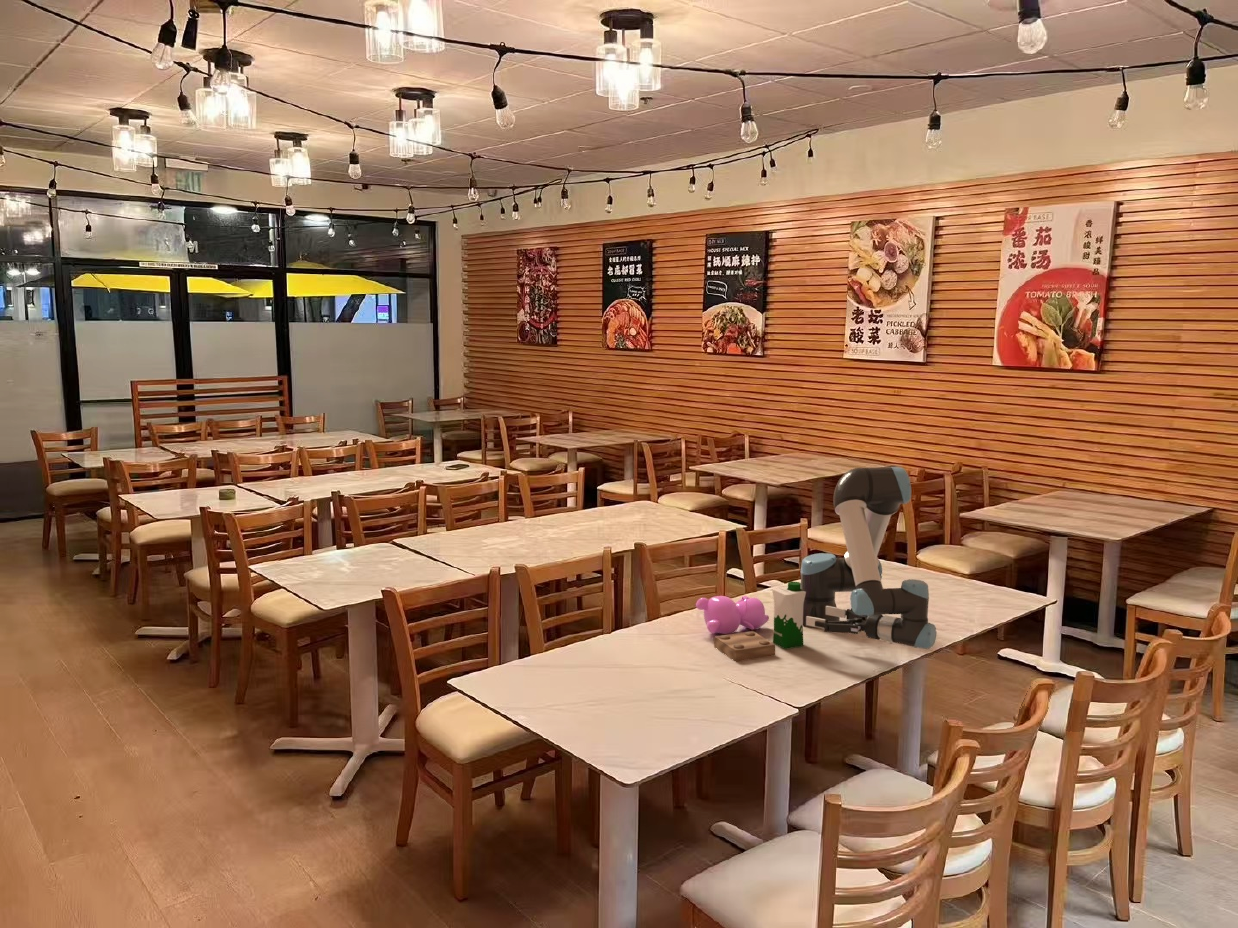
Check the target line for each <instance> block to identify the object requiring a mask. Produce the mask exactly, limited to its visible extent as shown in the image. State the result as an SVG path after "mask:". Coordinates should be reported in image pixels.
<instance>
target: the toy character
mask: <svg viewBox="0 0 1238 928" xmlns="http://www.w3.org/2000/svg"><path fill="white" fill-rule="evenodd" d="M695 607H696V609H697V610H699V611H703V619H704V622H705V625H706V629H707V631H708V632H709V633H711V634H712V635H715V633H716V634H721V635H728V634H734V633H735V632H736V631H737V630H738V629H739V627H740V626H742V627H744V628H746V629H750V630H751V631H754V630H758V629H760V628H761V627H762V626H764V625H765V624H766V623H768V621H769V620H770V616H769V615H768V614H766V609H765V606H764V603H763V602H762V600H760V599H759V598H758V597H749V596H747V595H744V596H741V598H740V599H739V600H738V601H736V602H735V600H734V599H732V598H731V597H728V596H725V595H716V596H712V597H710V598H709V599H708V598H706V597H701V598H699V599H697V601H696V603H695Z"/></svg>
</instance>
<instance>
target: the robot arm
mask: <svg viewBox="0 0 1238 928" xmlns="http://www.w3.org/2000/svg"><path fill="white" fill-rule="evenodd" d="M910 479H911V478H910V476H909V474H908V472H907V471H906V469H905V468H903V467H901V466H884V467H883V466H881V467H879V466H878V467H875V466H873V467H855V468H852V469H849V470H847V472H845V473H844V474H843V475H842V476H841V477H840V478H839V480H838V481H837V484H836V485H835V488H834V491H833V492H834V493H833V501H832V502H833V509H834V512H835V513H836V515H838V516H839V518H840V525H841V528H842V533H843V536H844V540H845V546H846V549H847V551H846V552H845V554H844V557H837V556H836V555H835V554H832V553H828V552H827V553H824V552H821V553H820V552H819V553H814V554H810V555H809V554H808V555H807V556H806V557H804V558H803V559H802V560H801V565H800V566H801V568H800V583H801V589H802V590H803V591H805V592H806V594H805V599H804V603H803V627H808V628H815V629H823V632H824V633H840V634H841V633H842V634H854V635H859V633H860V632H864V633H865V635H866V637H867V638H868V639H873V640H877V641H878V640H880V641H883V642H888V643H889V644H891V645H892V644H894V643H895V644H900V645H903V646H908V647H911V648H916V649H917V648H918V649H923V650H924V649H925V650H930V649H931V648H933V647H934V645H935V643H936V640H937V634H938V633H937V627H936V625H935V624H933V623H931V622H929V618H928V613H929V600H930V597H929V595H930V591H929V585H928V583H927V582H925V581H924V580H920V579H912V578H911V579H905V580H903V581H901V586H900V587H894V588H893V587H890V588H889V587H888V588H884V587H883V582H882V579H883V578H882V577H883V576H882V574H883V566H882V563H881V561H880V559H879V557H878V555H879V552H880V548H881V547H882V542H883V539H884V537H885V534H886V530H887V528H888V525H889V523H890V520H891V517H892V515H894V514H895V513H898V511H899V508H900V505H905V504H908V503H910V501H911V498H912V486H911V480H910ZM840 592H841V593H844V592H845V593H847V592H848V593H850V598H849V600H850V608H847V609H846V608H841V607H837V604H836V593H840ZM891 615H900V617H897V616H891ZM841 618H842V619H846V620H840V619H841Z"/></svg>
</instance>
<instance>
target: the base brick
mask: <svg viewBox="0 0 1238 928" xmlns="http://www.w3.org/2000/svg"><path fill="white" fill-rule="evenodd" d="M713 639H714V640H713V641H714V642H713V643H714V645H713V647H714V648H715V649H716V648H717V649H718V651H719V652H720V653H721V654H723V653H724V654H723V655H725V654H726V655H727V656H726V655H725V656H726V657H728V658H729V659H731V660H732V659H733V660H732V661H734V662H735V661H736V662H742V660H743V661H749V660H754V659H761V658H768V657H774V655H775V656H776V644H774V643H773V641H770V640H768V639H767V638H765V637H763V636H762V635H760V634H758V632H755V631H754V630H751V631H744V632H743V631H742V632H737V633H731V634H721V635H716V636H714V638H713ZM717 649H716V650H717ZM748 659H749V660H748Z"/></svg>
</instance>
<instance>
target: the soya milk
mask: <svg viewBox="0 0 1238 928" xmlns="http://www.w3.org/2000/svg"><path fill="white" fill-rule="evenodd" d="M805 594H806V592H805V591H803V590H802V589H801V582H798V581H789V582H787V586H783V587H778V588H772V596H773V597H772V598H773V634H772V635H773V637H772V643H774V644H775V646H778V647H780V648H782V649H784V650H790V649H794V648H799V647H803V646H804V645H805V644H804V626H803V603H804V599H805Z"/></svg>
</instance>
